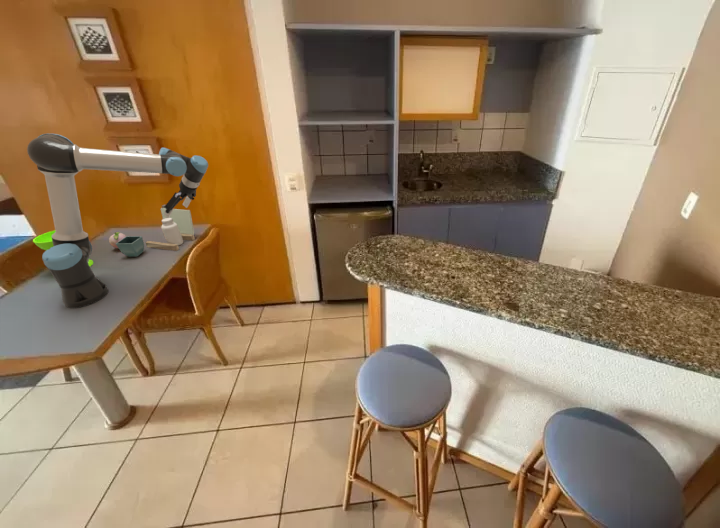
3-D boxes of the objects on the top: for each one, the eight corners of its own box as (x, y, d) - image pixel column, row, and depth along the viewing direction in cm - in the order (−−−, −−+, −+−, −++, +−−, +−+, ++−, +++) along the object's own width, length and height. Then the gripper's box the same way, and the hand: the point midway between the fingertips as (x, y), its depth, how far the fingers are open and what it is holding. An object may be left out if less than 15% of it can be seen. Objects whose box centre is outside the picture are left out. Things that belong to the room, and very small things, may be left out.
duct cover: (189, 210, 174) (190, 210, 175) (160, 208, 178) (162, 207, 180) (193, 234, 179) (195, 233, 180) (165, 231, 184) (167, 230, 185)
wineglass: (99, 257, 164) (83, 226, 155) (83, 273, 151) (64, 240, 141) (65, 261, 161) (46, 230, 152) (45, 278, 148) (23, 244, 139)
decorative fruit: (113, 247, 174) (105, 231, 169) (130, 243, 178) (122, 227, 173) (113, 254, 167) (105, 237, 162) (131, 249, 171) (124, 233, 166)
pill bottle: (169, 242, 178) (160, 217, 171) (184, 239, 180) (176, 215, 173) (166, 248, 172) (156, 223, 164) (182, 245, 174) (173, 221, 166)
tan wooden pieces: (176, 250, 168) (164, 220, 159) (147, 247, 173) (134, 217, 164) (201, 235, 185) (192, 206, 176) (174, 232, 190) (164, 204, 181)
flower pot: (138, 258, 162) (131, 243, 157) (122, 258, 162) (114, 243, 158) (148, 250, 170) (142, 236, 165) (133, 250, 170) (126, 236, 165)
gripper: (178, 197, 142) (164, 225, 154) (211, 180, 163) (197, 206, 174) (164, 186, 141) (151, 215, 152) (199, 170, 161) (186, 197, 172)
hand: (175, 210), depth 163 cm, fingers open, 13 cm apart
